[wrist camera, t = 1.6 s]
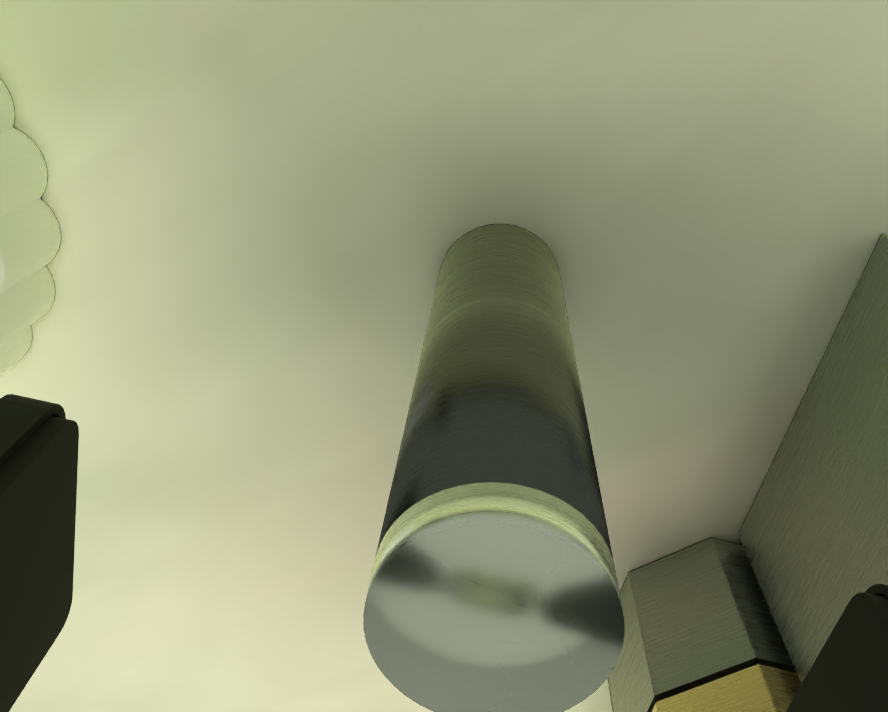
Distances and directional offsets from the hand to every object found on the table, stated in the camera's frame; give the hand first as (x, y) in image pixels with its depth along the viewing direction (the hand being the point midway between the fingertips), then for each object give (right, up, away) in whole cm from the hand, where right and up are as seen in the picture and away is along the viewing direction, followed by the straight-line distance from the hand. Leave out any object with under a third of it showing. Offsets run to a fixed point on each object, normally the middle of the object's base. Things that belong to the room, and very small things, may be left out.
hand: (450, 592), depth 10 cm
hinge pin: (+1, +5, +11) cm, 12 cm away
